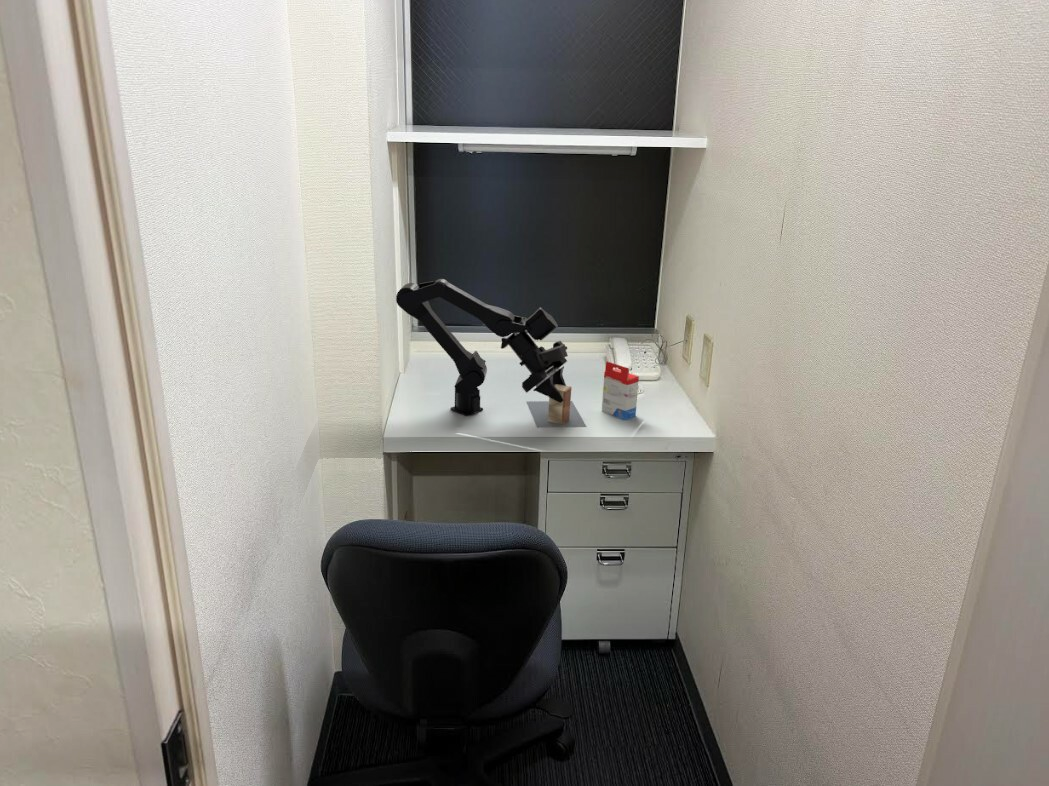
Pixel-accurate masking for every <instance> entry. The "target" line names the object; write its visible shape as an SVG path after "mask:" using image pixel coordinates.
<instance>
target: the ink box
mask: <svg viewBox="0 0 1049 786" xmlns="http://www.w3.org/2000/svg"><path fill="white" fill-rule="evenodd" d="M604 369H605V370H604V372H603V373H604V374H603V387H602V403H601V412H602V413H605V414H608V415H611V416H614V417H616V418H618V419H621V420H624V421H625V420H628V419H631V418H634V417H636V415H637V403H638V391H639V379H640V376H639V375H635V374H632V373H630V368H628V367H626V366H622V365H619V364H617V363H613V362H611V361H606V362H605V368H604Z"/></svg>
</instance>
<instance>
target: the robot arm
mask: <svg viewBox="0 0 1049 786" xmlns="http://www.w3.org/2000/svg"><path fill="white" fill-rule="evenodd" d="M395 297H396V298H395V301H396V304H397V306H398V307H399V308H400V309H401V310H403V311H404V313H407V314H408V316H410V317H412V318H414V319H416V320H417V321H419V322H420V324H421V325H422V326H423V327H424V328H425V329H426V331H428V333H429V334H430V336H431V337H432V338H433V339H434V340H435V341H436V343H437V344H438V345H439V346H440V348H441V349H443V350H444V351H445V353H446V354H447V355H448V356H449V357H450V359H451V360H452V361H453V363H454V365H455V367H456V370H457V372H458V377H457V379H456V382H455V385H454V386H453V387H454V406H452V407H451V406H450V408H449V409H450V411H453V412H456V413H458V414H461V415H464V416H471V415H474V414H476V413H479V412H482V411H484V408H483V407H481V395H480V392H481V390H480V389H479V387H481V385H483V383H484V382H485V379H486V376H487V375H488V374H487V373H488V367H487V365H486V362H487V361H486V359H484V358H482V357H481V355H480V354H479V352H478V351H477V350H475V351H474V352H473V353H472V352H470V351H468V350H467V349H466V348H465V347H464V346H463V345H462V343H461V342H460V341H459V340H458V339H457V338H456V336H455V335H454V334H453V332H452V331H450V329H449V328H448V327H447V325H446V324H445V323H444V322H443V321H442V320H441V318H440V317H439V316H438V315H437V314H436V313H435V311H434V310H433V308H432V307H431V304H430V302H429V301H431V300H434V299H436V298H441V299H443V300H444V301H446V302H448V303H449V304H451V305H453V306H455V307H457V308H459V310H460V309H461V310H462V311H465V312H466V313H467V314H469V315H471V316H473V317H475V318H476V319H478V321H480V322H482V323H483V325H484V326H485V327H486V328H488V329H489V331H491V332H492V333H494V334H495V335H496V336H498V337H500V338H501V345H500V348H501V349H502V350H503V349H506V348H508V346H509V348H511V350H512V351H513V352H514V354H515V355H516V356H517V357H518V359H519V360H520V362H519V365H520V367H523V366H525V367H526V369H527V370H528V372H529V373H530V374H529V375H528V377H527V378H526V379H525V380H524V381H522V382H521V383H522V384H521V388H522V390H523V391H524V392H525V393H527V394H528V393H529V391H531V390H532V391H533V392H538V393H539V394H542V395H544V396H546V397H548V398H549V397H550V398H552V399H554V400H556V401H558V402H560V403H561V402H562V401H563V398H562V397H561V395H560V393H559V392H558V390H557V388H556V387H555V384H559V385H565V386H567V384H566V381H565V379H564V376H563V375H564V374H563V373H564V368H565V366H564V365H565V364H566V363H567V362H568V360H567V357H568V355H569V354H568V353H567V350H568V346H567V345H566V344H565V343H563V342H562V341H561V340H559V341H555V342H554V343H553V345H552V347H550V348H548V349H545V347H544V346H538V344H536V342H535V341H543V340H544V339H545V338H546V337H548V336H549V335H550V334H551V333H553V332H554V331H555V330H556V329H558V327H559V326H558V323H557V322H556V319H554V317H553V316H552V315H551V314H549V313H548V312H547V311H546V310H545V309H543V308H542V307H541V306H540V307H539V308H538V309H536V311H535V312H534V313H533V314H532V315H530V316H529V317H528V318H527V317H522V316H520V315H519V316H518V315H514V313H513V312H511V311H510V310H507V309H504V308H502V307H499V306H496V305H490V304H487V303H485V302H484V301H482V300H480V299H478V298H476V297H475V296H473V295H471V294H469V293H468V292H466V291H465V290H462V289H460V288H459V287H457V286H455V285H453V284H452V283H450V282H449V281H447V280H446V279H444V278H439V279H437V280H432V281H426V282H422V283H419V284H417V283H413V282H408V283H405V284H404V285H403V286H402V287H401V288H400V289H399V290H398V291H397V294H396V296H395Z"/></svg>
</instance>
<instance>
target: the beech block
mask: <svg viewBox="0 0 1049 786" xmlns="http://www.w3.org/2000/svg"><path fill="white" fill-rule="evenodd" d="M555 387H556V388H557V390H558V392H559V393H560V395H561V397H562V398H563V401H562V402H561V403H560V402H558V401H556V400H554V399H552V398H550V397H548V401H549V410H548V421H549V422H554V423H560V424H564V423H565V422H567V421H568V420H569V416H570V402H571V401H572V400H571V399H572V386H570V385H566V386H565V385H559V384H555Z"/></svg>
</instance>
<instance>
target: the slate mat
mask: <svg viewBox="0 0 1049 786" xmlns="http://www.w3.org/2000/svg"><path fill="white" fill-rule="evenodd" d="M526 405H527V407H528V409H529V411H530V414H531V416H532V418H533V421H534V423H535V425H536V428H538V429H539V428H540V429H541V428H587V425H586V423H585V421H584V420H583V418H582V416H581V414H580V412H579V410H578V409H577V408H576V405H575V404H574V402H573V400H571V402H570V416H569V420H568V421H567V422H565V423H564V424H560V423H554V422H549V421H548V410H549V400H544V401H543V400H542V401H541V400H539V401H538V400H537V401H536V400H534V401H533V400H530V401H528V400H527V401H526Z"/></svg>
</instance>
